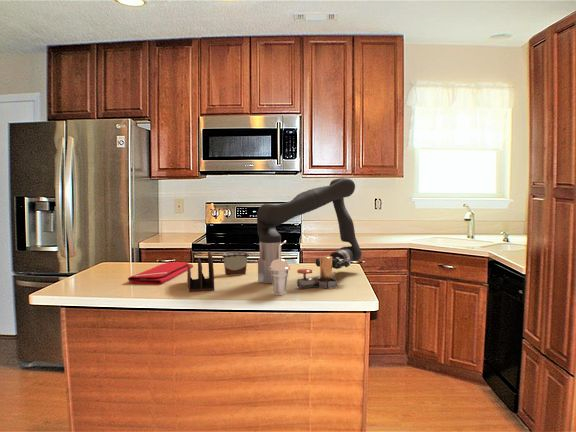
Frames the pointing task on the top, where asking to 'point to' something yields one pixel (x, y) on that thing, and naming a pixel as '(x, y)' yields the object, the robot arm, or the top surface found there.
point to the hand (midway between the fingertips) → (327, 264)
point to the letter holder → (201, 277)
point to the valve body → (313, 281)
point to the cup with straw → (279, 274)
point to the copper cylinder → (326, 268)
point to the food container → (235, 263)
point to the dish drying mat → (160, 273)
